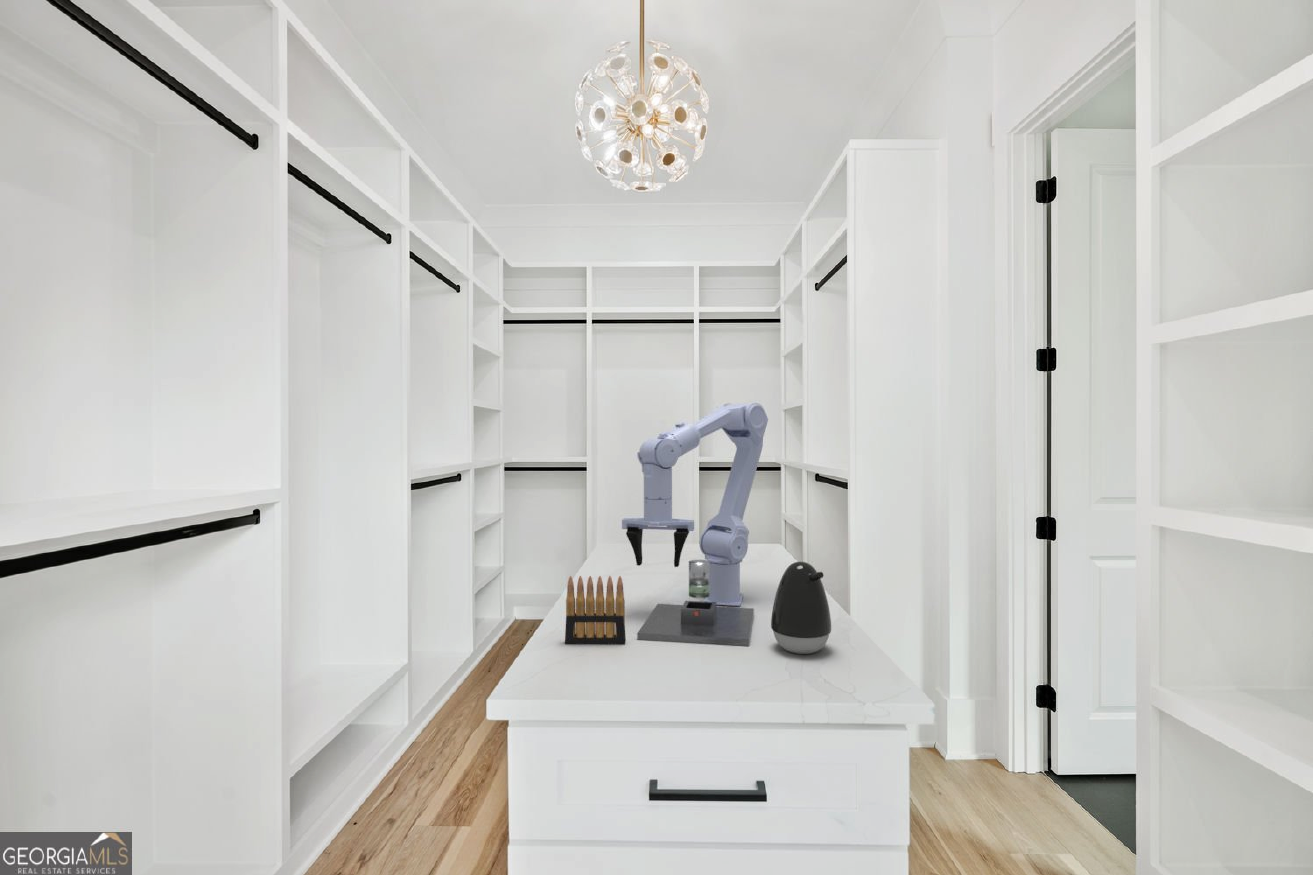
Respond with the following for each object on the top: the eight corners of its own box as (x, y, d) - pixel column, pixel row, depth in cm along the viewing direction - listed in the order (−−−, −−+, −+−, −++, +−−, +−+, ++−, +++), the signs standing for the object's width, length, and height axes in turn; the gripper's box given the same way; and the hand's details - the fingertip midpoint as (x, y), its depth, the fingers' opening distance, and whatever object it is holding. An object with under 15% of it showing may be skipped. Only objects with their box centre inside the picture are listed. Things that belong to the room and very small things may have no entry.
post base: (657, 609, 141) (657, 590, 141) (753, 614, 138) (753, 594, 138) (637, 639, 122) (637, 617, 122) (748, 646, 118) (748, 623, 118)
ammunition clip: (564, 644, 119) (564, 577, 119) (566, 641, 121) (566, 574, 121) (625, 644, 119) (625, 577, 119) (625, 641, 121) (625, 574, 121)
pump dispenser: (797, 663, 109) (797, 570, 109) (759, 645, 119) (759, 559, 118) (845, 653, 114) (845, 564, 114) (804, 636, 123) (804, 553, 123)
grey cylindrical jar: (690, 592, 132) (690, 559, 132) (710, 593, 131) (710, 559, 131) (687, 597, 128) (687, 563, 128) (708, 598, 127) (708, 564, 127)
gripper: (618, 499, 133) (618, 567, 134) (690, 501, 131) (690, 570, 131) (626, 495, 140) (626, 560, 140) (695, 497, 137) (695, 563, 138)
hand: (657, 565), depth 136 cm, fingers open, 7 cm apart
